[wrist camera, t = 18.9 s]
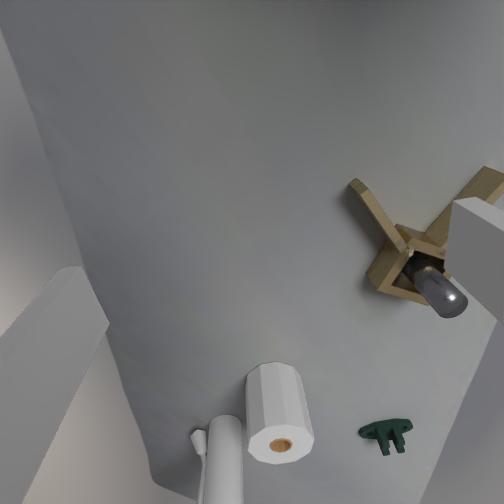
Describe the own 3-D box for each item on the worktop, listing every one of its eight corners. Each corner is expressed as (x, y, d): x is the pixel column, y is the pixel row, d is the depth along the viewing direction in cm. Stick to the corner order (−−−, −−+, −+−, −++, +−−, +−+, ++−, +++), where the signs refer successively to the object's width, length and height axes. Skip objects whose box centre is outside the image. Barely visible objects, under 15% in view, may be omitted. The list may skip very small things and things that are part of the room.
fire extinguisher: (187, 417, 65) (171, 595, 43) (248, 410, 65) (262, 582, 44) (192, 437, 68) (179, 611, 47) (250, 430, 69) (264, 599, 47)
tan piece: (380, 121, 40) (396, 127, 36) (498, 171, 44) (523, 181, 40) (311, 256, 49) (317, 272, 45) (413, 288, 52) (428, 306, 49)
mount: (410, 414, 69) (422, 438, 64) (410, 427, 71) (421, 450, 66) (357, 423, 69) (366, 447, 65) (359, 436, 72) (367, 460, 67)
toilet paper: (301, 396, 64) (314, 461, 53) (247, 401, 64) (250, 467, 53) (300, 358, 59) (314, 422, 48) (242, 364, 59) (244, 429, 48)
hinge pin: (402, 243, 48) (449, 290, 38) (422, 250, 49) (474, 298, 39) (389, 263, 50) (430, 313, 39) (408, 270, 51) (454, 321, 40)
